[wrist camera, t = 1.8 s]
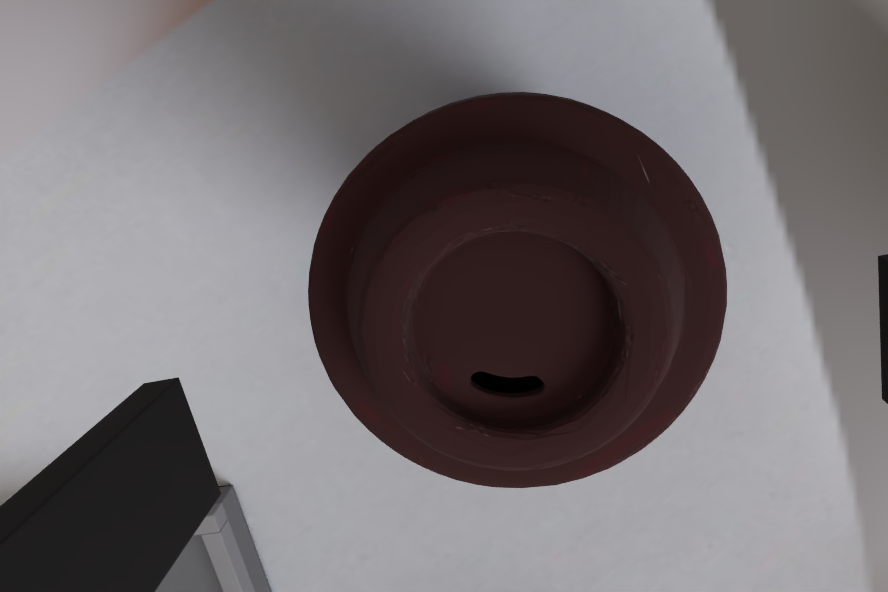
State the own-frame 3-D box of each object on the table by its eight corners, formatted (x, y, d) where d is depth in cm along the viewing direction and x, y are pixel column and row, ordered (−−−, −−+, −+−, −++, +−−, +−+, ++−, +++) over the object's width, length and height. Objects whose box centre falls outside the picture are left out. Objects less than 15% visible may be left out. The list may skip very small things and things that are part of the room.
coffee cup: (489, 27, 26) (469, -16, 12) (679, 181, 28) (860, 304, 14) (349, 223, 29) (205, 368, 15) (526, 353, 31) (543, 600, 17)
